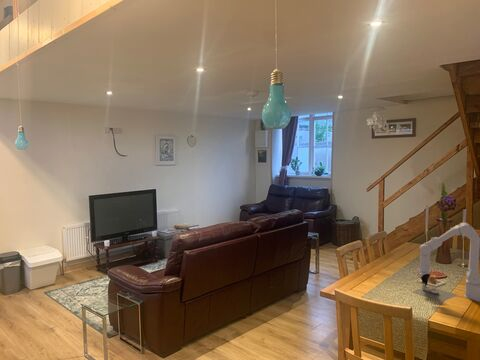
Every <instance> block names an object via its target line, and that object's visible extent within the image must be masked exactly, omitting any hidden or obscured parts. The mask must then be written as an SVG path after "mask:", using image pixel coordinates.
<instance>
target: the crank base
mask: <svg viewBox="0 0 480 360" xmlns="http://www.w3.org/2000/svg"><path fill="white" fill-rule="evenodd" d="M426 287H429V288H432V289H437V290H439V294H437V295H436V294H432V293H431V292H428V291H425V290H422V288H419V289H417V290H414V291H412V293H413V294H416V295H419V296H422V297H425V298H428V299H430V300H434V301H437V302H439V303H443V302H446V301H447V300H450V299H452V298H455V297H457V296H458V294H456V293H453V292H450V291H447V290H444V289H439V288H438V287H433V286H430V285H427V286H426Z"/></svg>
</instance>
